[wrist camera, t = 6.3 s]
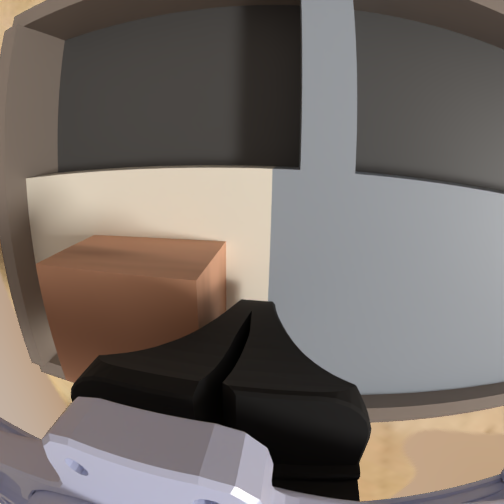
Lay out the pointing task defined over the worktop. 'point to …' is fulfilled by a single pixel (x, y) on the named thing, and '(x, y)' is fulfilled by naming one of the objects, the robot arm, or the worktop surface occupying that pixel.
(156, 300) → the block
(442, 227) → the box
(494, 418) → the worktop surface
